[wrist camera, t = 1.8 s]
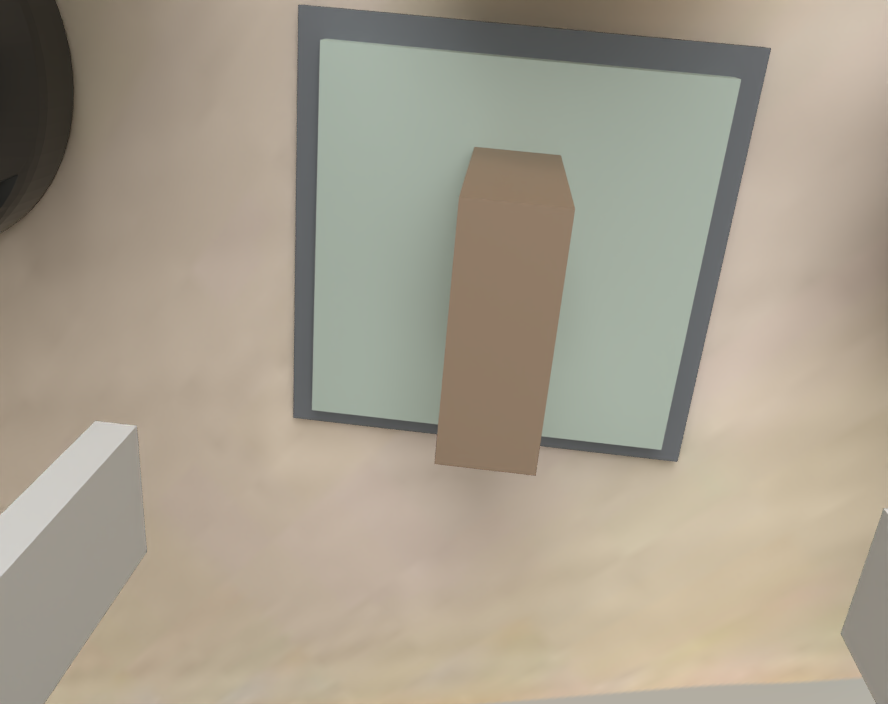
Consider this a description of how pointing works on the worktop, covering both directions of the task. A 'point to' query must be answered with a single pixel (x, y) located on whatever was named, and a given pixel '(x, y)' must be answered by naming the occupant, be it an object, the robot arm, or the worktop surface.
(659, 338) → the board
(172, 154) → the worktop surface
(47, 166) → the robot arm
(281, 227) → the worktop surface
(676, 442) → the square tray
